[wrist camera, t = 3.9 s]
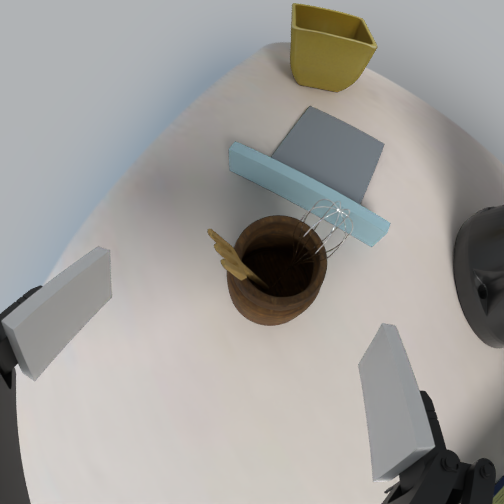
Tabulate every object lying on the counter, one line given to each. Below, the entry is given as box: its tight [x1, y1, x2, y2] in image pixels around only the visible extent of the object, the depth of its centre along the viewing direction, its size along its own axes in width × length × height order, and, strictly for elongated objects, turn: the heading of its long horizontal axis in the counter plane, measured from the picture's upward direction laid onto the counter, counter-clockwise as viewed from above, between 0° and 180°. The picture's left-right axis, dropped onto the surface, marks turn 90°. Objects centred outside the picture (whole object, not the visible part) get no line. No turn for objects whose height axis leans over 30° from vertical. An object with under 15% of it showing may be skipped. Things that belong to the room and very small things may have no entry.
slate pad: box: [271, 106, 384, 204], centre depth 26 cm, size 9×9×1 cm
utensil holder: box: [208, 199, 353, 326], centre depth 16 cm, size 6×6×12 cm
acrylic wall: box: [229, 141, 390, 247], centre depth 23 cm, size 14×1×3 cm, turn 60°
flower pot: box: [290, 3, 377, 92], centre depth 26 cm, size 9×9×9 cm
